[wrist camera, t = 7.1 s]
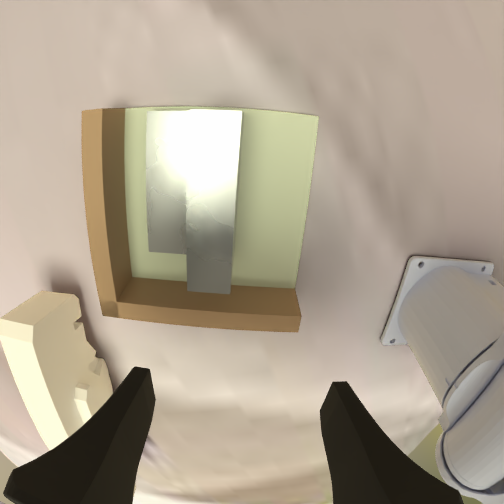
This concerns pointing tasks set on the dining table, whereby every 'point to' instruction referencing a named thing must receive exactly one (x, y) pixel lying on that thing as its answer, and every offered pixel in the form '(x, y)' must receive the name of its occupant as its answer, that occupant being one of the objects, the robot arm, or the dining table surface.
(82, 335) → the shelf bracket
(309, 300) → the dining table surface
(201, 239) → the angle bracket
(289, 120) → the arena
